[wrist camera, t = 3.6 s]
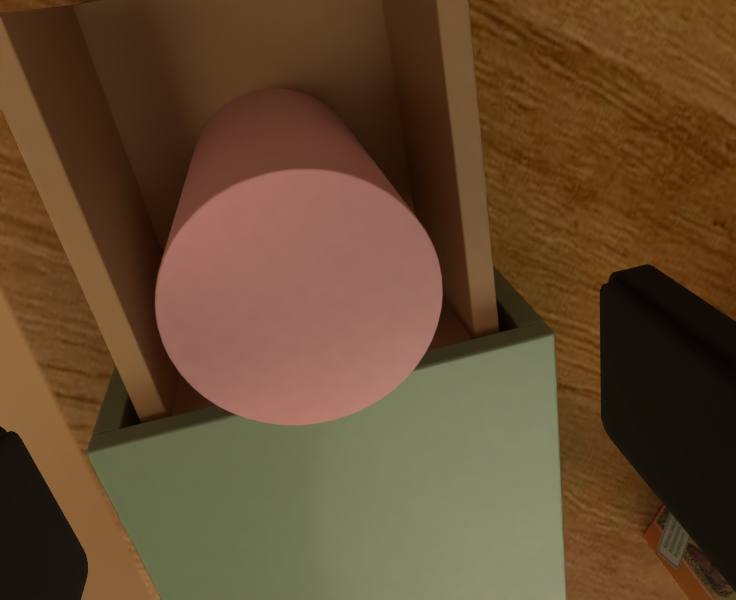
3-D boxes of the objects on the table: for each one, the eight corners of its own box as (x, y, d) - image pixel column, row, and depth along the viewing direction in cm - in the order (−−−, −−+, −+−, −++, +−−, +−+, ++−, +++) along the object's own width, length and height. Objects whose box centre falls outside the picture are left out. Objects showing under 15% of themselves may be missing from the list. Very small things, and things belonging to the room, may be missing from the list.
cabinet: (136, 299, 26) (84, 453, 17) (456, 222, 27) (555, 332, 18) (240, 557, 33) (240, 754, 24) (488, 489, 34) (569, 656, 25)
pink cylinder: (183, 242, 23) (143, 416, 14) (201, 71, 20) (167, 141, 11) (343, 264, 24) (406, 434, 15) (378, 107, 22) (477, 195, 13)
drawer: (-85, -283, 16) (-319, -477, 10) (373, -358, 17) (459, -585, 10) (159, 333, 25) (128, 461, 19) (452, 261, 26) (526, 358, 19)
